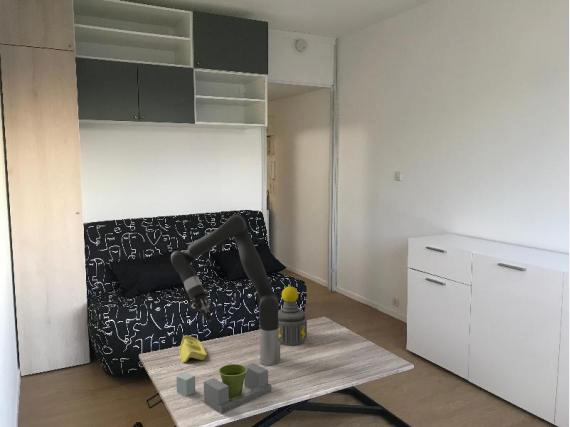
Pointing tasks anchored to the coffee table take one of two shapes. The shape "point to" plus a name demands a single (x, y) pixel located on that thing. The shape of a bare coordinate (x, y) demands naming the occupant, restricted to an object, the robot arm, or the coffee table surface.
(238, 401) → the rail strip
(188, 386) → the block
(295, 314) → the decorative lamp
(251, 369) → the block
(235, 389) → the plant pot
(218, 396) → the block
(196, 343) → the plastic component
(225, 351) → the coffee table surface
